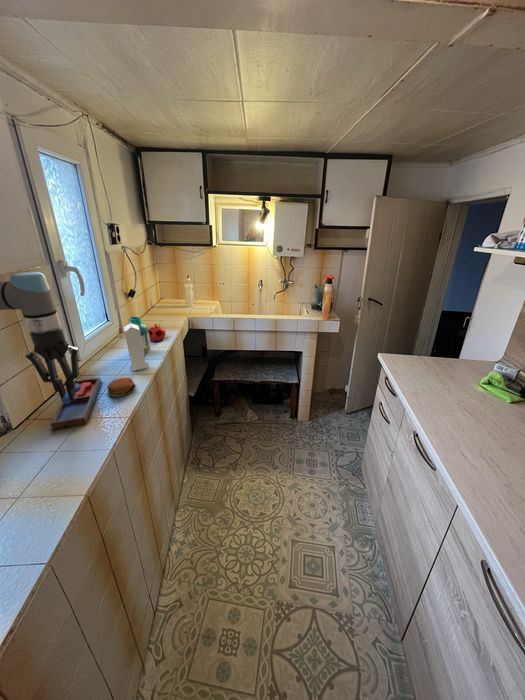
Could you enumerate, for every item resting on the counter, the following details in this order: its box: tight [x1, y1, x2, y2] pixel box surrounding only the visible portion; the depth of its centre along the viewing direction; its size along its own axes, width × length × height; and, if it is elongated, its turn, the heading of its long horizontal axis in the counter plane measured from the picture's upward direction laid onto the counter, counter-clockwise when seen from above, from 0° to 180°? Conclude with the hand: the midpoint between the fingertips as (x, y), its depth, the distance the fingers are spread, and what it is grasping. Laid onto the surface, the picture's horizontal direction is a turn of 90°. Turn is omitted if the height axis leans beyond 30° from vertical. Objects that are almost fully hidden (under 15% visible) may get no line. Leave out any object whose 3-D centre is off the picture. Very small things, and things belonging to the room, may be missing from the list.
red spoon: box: [78, 382, 92, 397], centre depth 109 cm, size 4×10×2 cm, turn 18°
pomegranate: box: [148, 323, 167, 342], centre depth 159 cm, size 10×10×9 cm
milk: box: [123, 323, 148, 372], centre depth 126 cm, size 6×6×22 cm
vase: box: [127, 315, 151, 355], centre depth 139 cm, size 11×11×19 cm
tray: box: [50, 376, 102, 431], centre depth 104 cm, size 10×28×3 cm, turn 18°
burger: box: [107, 377, 137, 398], centre depth 110 cm, size 10×9×5 cm
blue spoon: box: [61, 383, 81, 404], centre depth 91 cm, size 4×10×2 cm, turn 17°
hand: (68, 398), depth 89 cm, fingers closed on blue spoon, 1 cm apart
